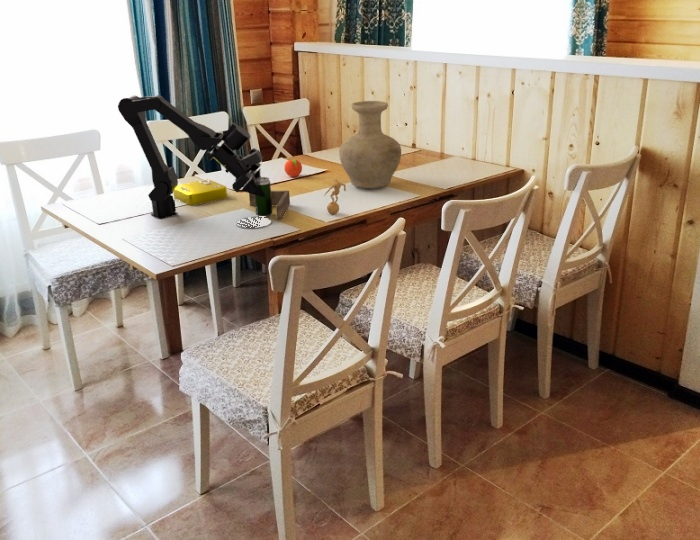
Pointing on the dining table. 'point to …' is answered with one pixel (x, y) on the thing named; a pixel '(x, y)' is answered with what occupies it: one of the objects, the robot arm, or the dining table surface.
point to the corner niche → (276, 202)
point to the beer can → (265, 203)
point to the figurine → (333, 206)
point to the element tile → (200, 192)
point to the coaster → (250, 222)
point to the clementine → (293, 167)
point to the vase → (370, 149)
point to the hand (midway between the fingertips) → (266, 193)
